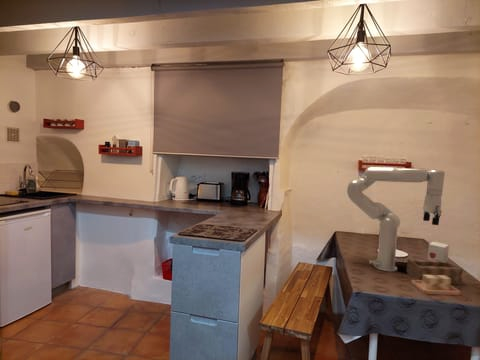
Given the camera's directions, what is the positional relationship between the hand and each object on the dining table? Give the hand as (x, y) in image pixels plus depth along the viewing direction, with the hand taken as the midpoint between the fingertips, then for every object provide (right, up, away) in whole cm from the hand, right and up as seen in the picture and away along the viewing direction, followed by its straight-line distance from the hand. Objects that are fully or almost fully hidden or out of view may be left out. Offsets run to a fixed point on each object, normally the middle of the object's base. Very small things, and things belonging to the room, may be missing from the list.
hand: (430, 222), depth 179 cm
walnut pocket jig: (+2, -31, +1) cm, 31 cm away
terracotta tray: (-6, -32, -13) cm, 36 cm away
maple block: (-5, -32, -13) cm, 35 cm away
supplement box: (+14, -30, +18) cm, 38 cm away
